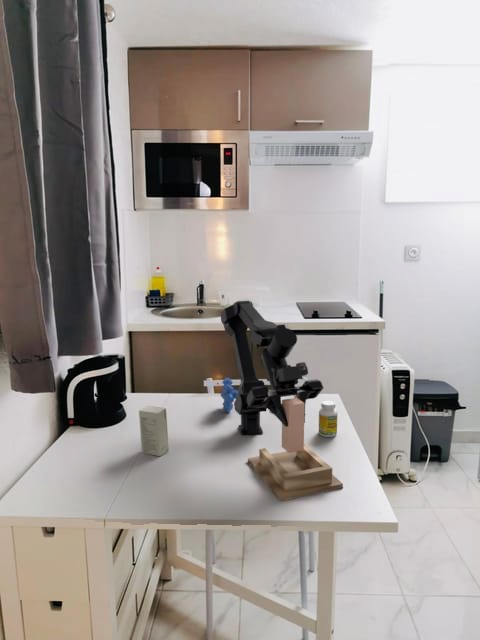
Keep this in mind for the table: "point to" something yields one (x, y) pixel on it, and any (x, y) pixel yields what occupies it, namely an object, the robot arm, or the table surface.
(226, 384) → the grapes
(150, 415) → the skincare box
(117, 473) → the table surface
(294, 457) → the rack
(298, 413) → the clay block
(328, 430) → the supplement bottle
